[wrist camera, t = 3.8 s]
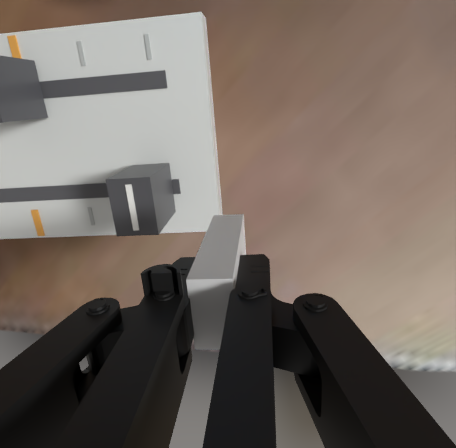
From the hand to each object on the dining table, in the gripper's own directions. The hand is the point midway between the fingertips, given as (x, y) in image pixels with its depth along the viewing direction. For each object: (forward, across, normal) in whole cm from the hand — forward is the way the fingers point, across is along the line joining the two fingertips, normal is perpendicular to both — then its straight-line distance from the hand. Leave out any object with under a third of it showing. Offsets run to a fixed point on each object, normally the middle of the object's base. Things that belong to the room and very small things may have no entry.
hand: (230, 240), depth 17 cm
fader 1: (+11, -16, +8) cm, 21 cm away
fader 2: (+11, -7, 0) cm, 13 cm away
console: (+13, -13, +4) cm, 19 cm away
